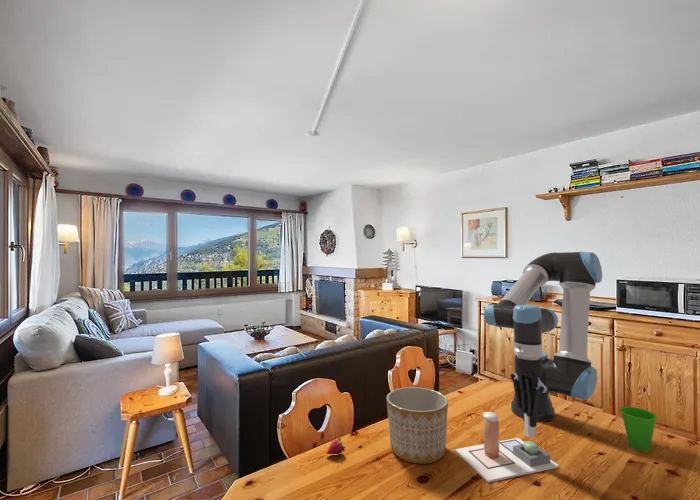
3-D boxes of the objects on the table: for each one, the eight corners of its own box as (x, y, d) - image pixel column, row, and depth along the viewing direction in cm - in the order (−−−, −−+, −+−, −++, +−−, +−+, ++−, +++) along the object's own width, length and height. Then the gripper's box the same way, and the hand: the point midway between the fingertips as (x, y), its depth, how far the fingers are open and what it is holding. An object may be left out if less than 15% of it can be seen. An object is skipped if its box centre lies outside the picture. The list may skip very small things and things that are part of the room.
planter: (453, 441, 114) (452, 391, 114) (443, 475, 96) (442, 416, 97) (397, 430, 122) (396, 383, 122) (379, 459, 104) (378, 404, 105)
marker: (481, 451, 106) (479, 412, 107) (493, 449, 107) (491, 411, 108) (490, 459, 102) (489, 419, 102) (502, 457, 103) (501, 417, 104)
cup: (665, 457, 103) (664, 420, 104) (631, 454, 105) (630, 417, 105) (646, 441, 112) (645, 407, 112) (615, 438, 114) (613, 405, 114)
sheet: (455, 451, 108) (455, 448, 108) (518, 439, 114) (518, 437, 114) (487, 482, 93) (487, 480, 93) (558, 467, 99) (558, 464, 99)
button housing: (513, 454, 105) (512, 446, 105) (531, 450, 107) (531, 442, 107) (530, 467, 98) (530, 458, 98) (550, 463, 100) (550, 454, 100)
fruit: (324, 453, 108) (324, 437, 108) (342, 450, 110) (341, 434, 110) (327, 461, 104) (327, 444, 104) (346, 457, 106) (346, 440, 106)
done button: (521, 450, 104) (521, 442, 104) (531, 448, 105) (531, 440, 105) (530, 456, 100) (530, 448, 100) (540, 454, 101) (540, 446, 101)
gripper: (502, 352, 109) (504, 427, 108) (534, 363, 96) (537, 449, 95) (522, 350, 111) (524, 424, 110) (556, 361, 98) (558, 445, 97)
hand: (530, 435), depth 103 cm, fingers closed
